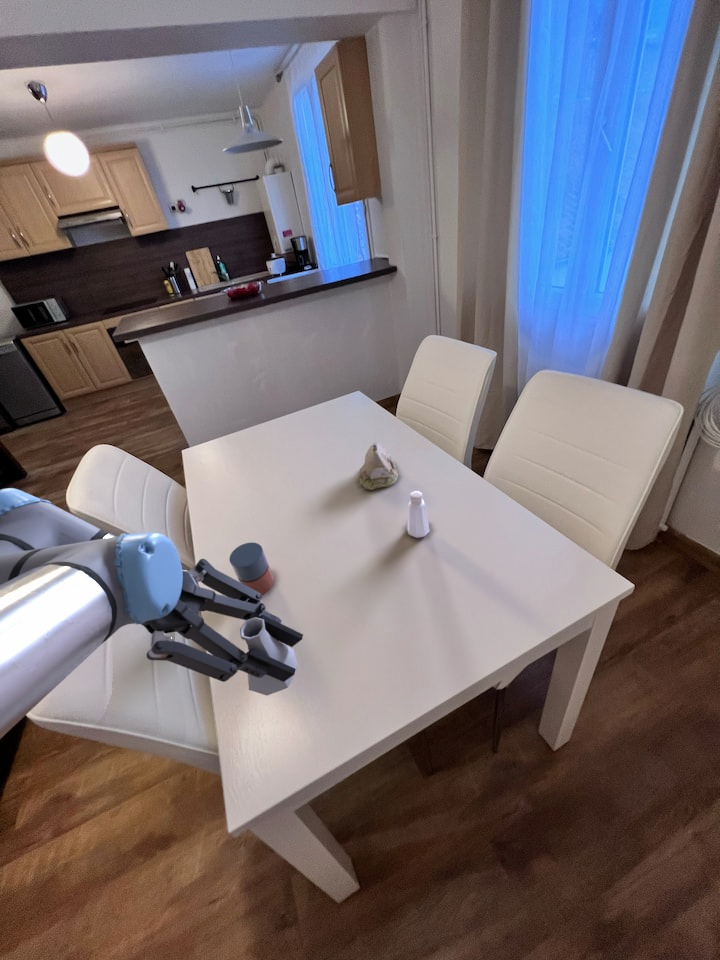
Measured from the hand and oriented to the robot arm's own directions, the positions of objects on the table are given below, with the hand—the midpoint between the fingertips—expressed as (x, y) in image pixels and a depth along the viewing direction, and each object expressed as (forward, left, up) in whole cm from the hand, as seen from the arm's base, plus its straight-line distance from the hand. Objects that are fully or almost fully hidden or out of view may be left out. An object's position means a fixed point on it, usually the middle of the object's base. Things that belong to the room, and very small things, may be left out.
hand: (293, 657), depth 54 cm
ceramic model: (+65, +16, -19) cm, 70 cm away
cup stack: (+20, +27, -18) cm, 38 cm away
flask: (-1, +4, -3) cm, 5 cm away
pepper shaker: (+46, -2, -19) cm, 50 cm away
